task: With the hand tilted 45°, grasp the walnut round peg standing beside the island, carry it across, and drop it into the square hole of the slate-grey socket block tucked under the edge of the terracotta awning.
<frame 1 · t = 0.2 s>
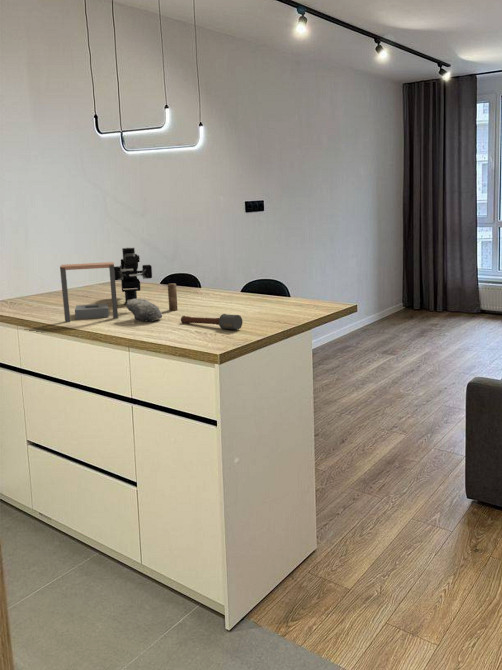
hand: (132, 275, 284), 17 cm above the table, fingers open, 9 cm apart
mallet: (209, 327, 248), on the table
socket stand: (92, 315, 281), on the table
peg: (173, 310, 288), on the table
rock: (144, 320, 266), on the table
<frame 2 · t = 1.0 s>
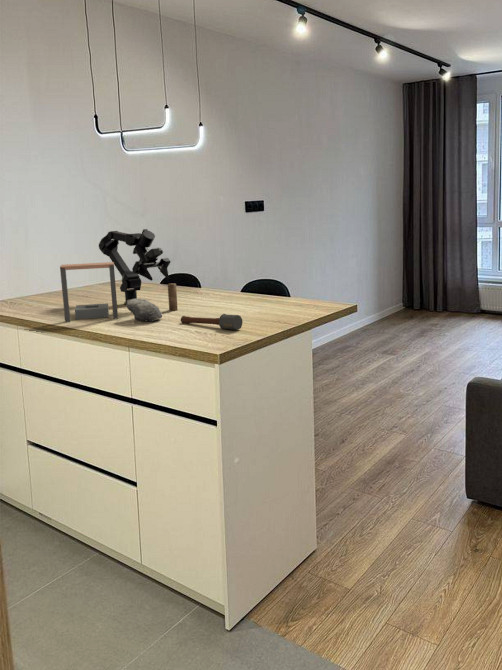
hand: (160, 278, 291), 14 cm above the table, fingers open, 9 cm apart
nothing on the table moved.
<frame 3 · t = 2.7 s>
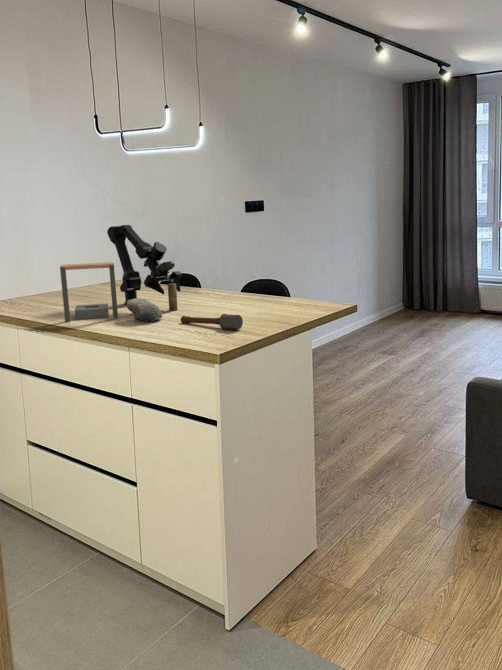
hand: (172, 292, 287), 8 cm above the table, fingers open, 9 cm apart
nothing on the table moved.
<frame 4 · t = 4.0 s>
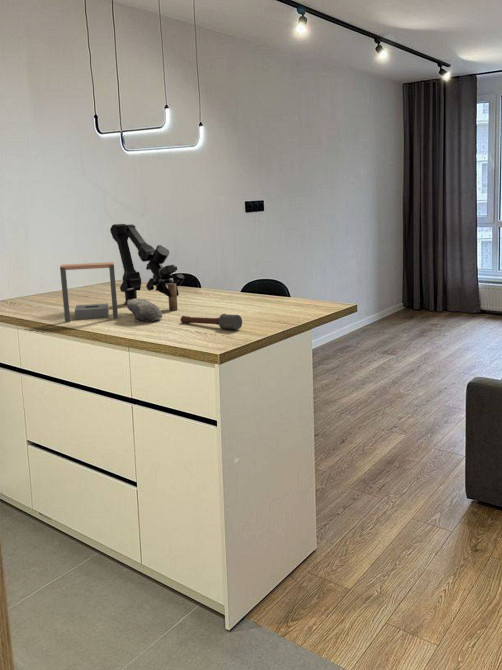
hand: (174, 296, 286), 7 cm above the table, fingers closed on peg, 4 cm apart
peg: (173, 310, 288), on the table, touching gripper
everything else where it was.
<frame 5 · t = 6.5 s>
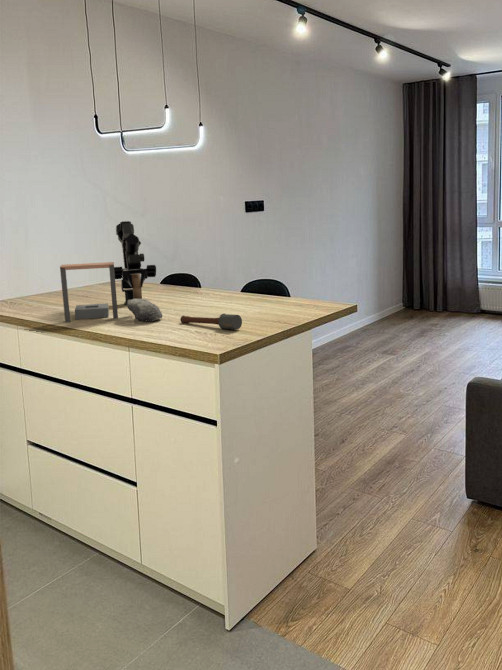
hand: (137, 286, 276), 12 cm above the table, fingers closed on peg, 4 cm apart
peg: (137, 301, 279), point 6 cm above the table, touching gripper
everything else where it was.
when the fingers open (8 cm above the table, at t = 9.3 s): peg drops 2 cm, resting in socket stand.
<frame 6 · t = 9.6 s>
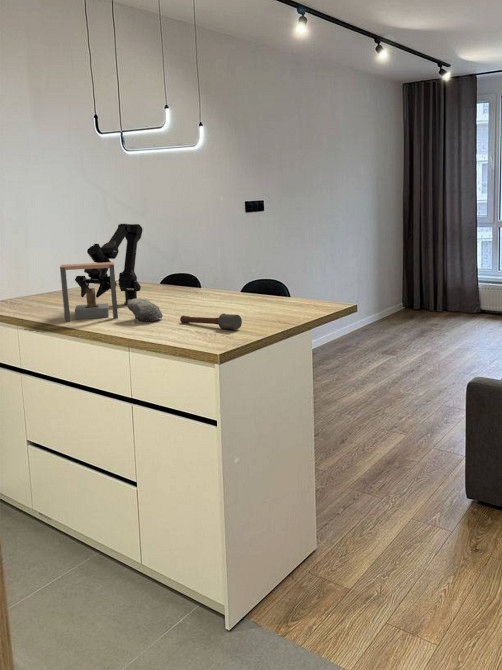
hand: (89, 297, 278), 9 cm above the table, fingers open, 7 cm apart
peg: (92, 315, 281), resting in socket stand
everything else where it was.
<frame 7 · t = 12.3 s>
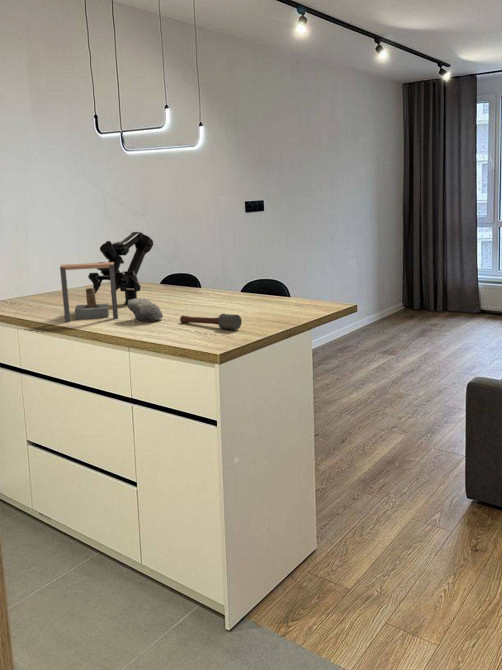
hand: (102, 293, 286), 9 cm above the table, fingers open, 9 cm apart
nothing on the table moved.
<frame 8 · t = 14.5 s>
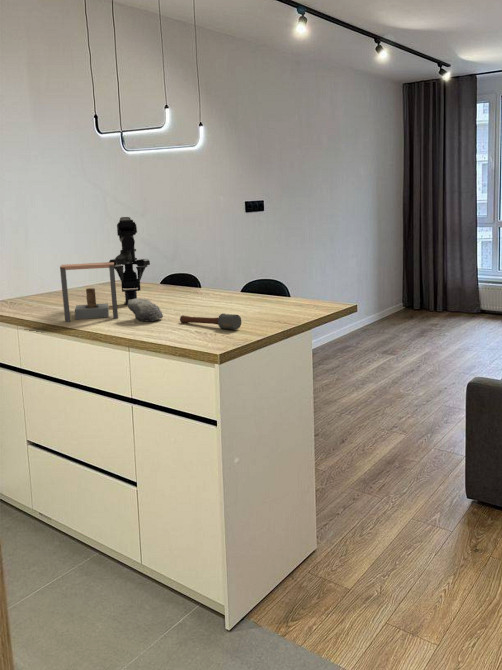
hand: (130, 281, 293), 13 cm above the table, fingers open, 9 cm apart
nothing on the table moved.
at the end: peg 0.0 cm off-centre on the socket stand, point 0.0 cm above the socket stand's base; peg tilted 0°; the gripper is holding nothing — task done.
